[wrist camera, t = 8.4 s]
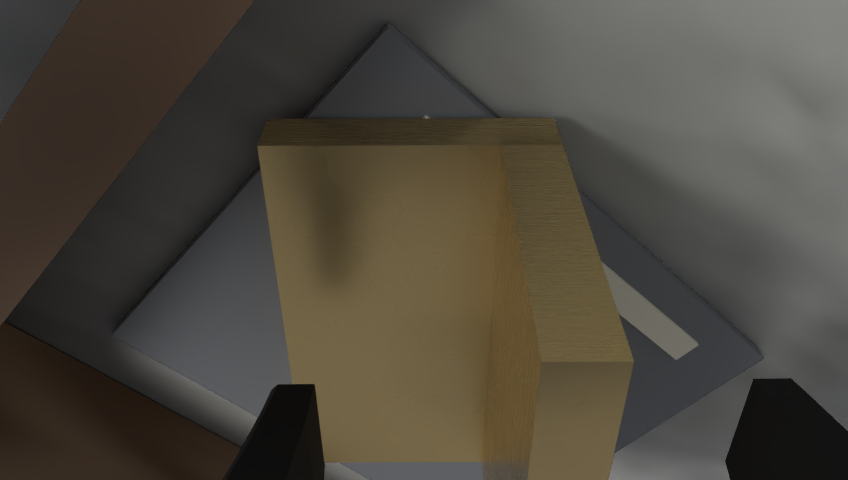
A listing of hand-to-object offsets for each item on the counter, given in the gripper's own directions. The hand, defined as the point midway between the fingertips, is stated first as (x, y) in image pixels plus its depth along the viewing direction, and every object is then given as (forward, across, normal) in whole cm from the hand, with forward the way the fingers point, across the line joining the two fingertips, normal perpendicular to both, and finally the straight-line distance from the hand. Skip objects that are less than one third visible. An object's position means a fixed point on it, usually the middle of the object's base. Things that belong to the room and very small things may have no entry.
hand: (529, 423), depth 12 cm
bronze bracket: (+3, +2, 0) cm, 4 cm away
